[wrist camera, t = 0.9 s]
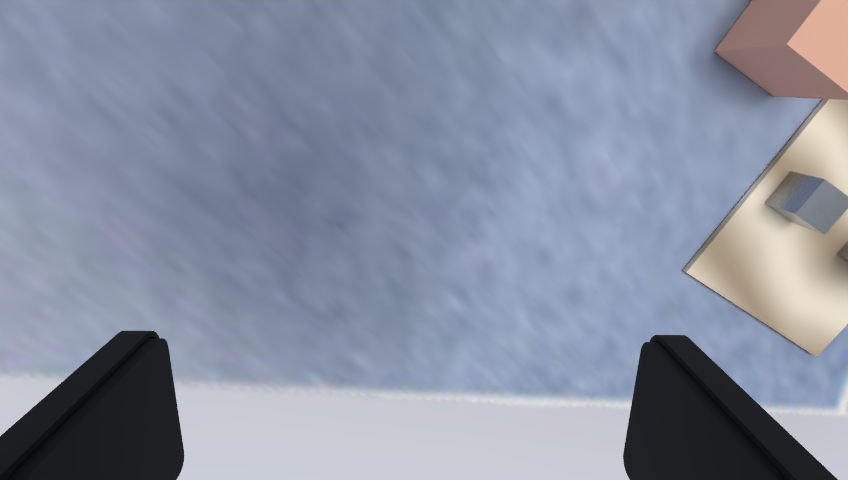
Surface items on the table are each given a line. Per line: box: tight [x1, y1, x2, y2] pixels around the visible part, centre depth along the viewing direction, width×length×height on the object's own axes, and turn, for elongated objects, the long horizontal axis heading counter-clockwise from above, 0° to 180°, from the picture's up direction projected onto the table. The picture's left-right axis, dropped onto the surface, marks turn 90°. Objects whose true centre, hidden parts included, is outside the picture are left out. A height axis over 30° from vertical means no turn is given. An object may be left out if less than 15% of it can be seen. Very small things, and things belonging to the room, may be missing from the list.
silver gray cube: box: [764, 171, 848, 235], centre depth 33 cm, size 3×3×3 cm
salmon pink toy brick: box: [714, 0, 848, 100], centre depth 29 cm, size 5×5×7 cm
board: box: [683, 99, 848, 357], centre depth 36 cm, size 16×13×1 cm
